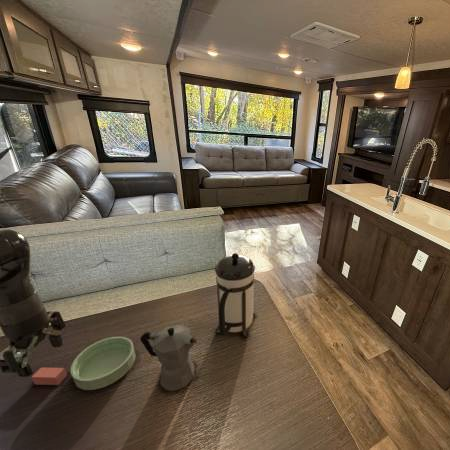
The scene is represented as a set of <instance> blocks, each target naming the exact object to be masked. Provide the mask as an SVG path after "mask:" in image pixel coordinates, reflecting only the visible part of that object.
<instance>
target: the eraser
mask: <svg viewBox="0 0 450 450" xmlns="http://www.w3.org/2000/svg"><path fill="white" fill-rule="evenodd" d="M67 376H68V374H67V371H66V369H65V367H39V369H38V370H36V371H35V373H33V374H32V375H31V380H32V382H33V384H34V385H39V386H40V385H41V386H42V385H43V386H60V384H61V383H62V382H63V381H64V380H65V379H66V377H67Z"/></svg>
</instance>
